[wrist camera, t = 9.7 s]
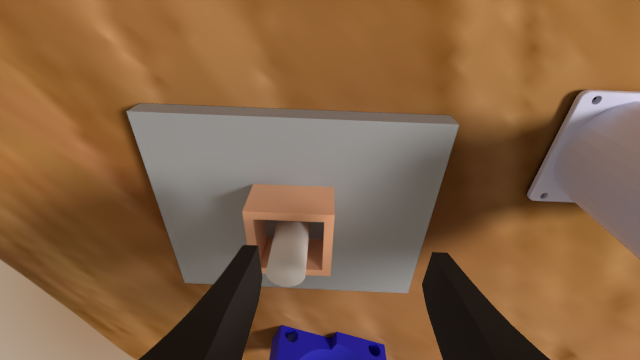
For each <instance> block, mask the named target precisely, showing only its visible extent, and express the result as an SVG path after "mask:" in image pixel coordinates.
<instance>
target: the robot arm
mask: <svg viewBox="0 0 640 360" xmlns="http://www.w3.org/2000/svg"><path fill="white" fill-rule="evenodd" d="M596 96H597V98H596V99H595V101H593V102H592V100H593V99H594V98H595V97H596ZM543 193H544V194H543ZM542 194H543V195H542ZM527 196H528V198H529V199H531V200H533V201H551V202H574V203H576V204H577V205H578V206H579V207H581V208H582V209H583V210H584V211H585V212H586V213H587V214H589V215H590V216H591V217H592V218H593V219H594V220H595V221H597V222H598V223H599V224H600V225H601V226H602V227H603V228H605V229H606V230H607V231H608V232H609V233H610V234H611V235H613V236H614V237H615V238H616V239H617V240H618V241H619V242H620V243H622V244H623V245H624V246H625V247H626V248H627V249H628V250H630V251H631V252H632V253H633V254H634V255H635V256H636V257H638V258H639V259H640V92H634V91H608V90H584V91H582V92H581V93H579V94H578V95H577V97H576V98H575V100H574V102H573V104H572V106H571V108H570V110H569V112H568V114H567V116H566V118H565V120H564V122H563V124H562V126H561V128H560V130H559V132H558V134H557V136H556V138H555V140H554V142H553V143H552V145H551V147H550V149H549V151H548V153H547V155H546V157H545V159H544V161H543V163H542V165H541V167H540V169H539V171H538V173H537V175H536V177H535V179H534V181H533V183H532V185H531V187H530V189H529V191H528V193H527ZM262 278H263V277H262V270H261V263H260V255H259V248H258V245H243V246H242V247H241V248H240V249H239V251H238V252H237V254H236V255H235V257H234V258H233V259H232V261H231V262H230V264H229V265H228V266H227V268H226V269H225V270H224V272H223V273H222V274H221V275H220V277H219V278H218V279H217V281H216V282H215V283H214V284H213V286H212V287H211V288H210V289H209V290H208V292H207V293H206V294H205V295H204V296H203V297H202V298H201V300H200V301H199V302H198V303H197V304H196V305H195V306H194V308H193V309H192V310H191V311H190V312H189V313H188V314H187V315H186V316H185V317H184V318H183V319H182V320H181V321H180V322H179V323H178V324H177V325H176V326H175V327H174V328H173V329H172V330H171V331H170V332H169V333H168V334H167V335H166V336H165V337H164V338H162V339H161V340H160V341H159V342H158V343H157V344H156V345H155V346H154V347H153V348H152V349H150V350H149V351H148V352H147V353H146V354H145V355H143V356H142V357H141V358H140V359H139V360H242V356H243V353H244V349H245V346H246V343H247V339H248V336H249V332H250V329H251V326H252V322H253V319H254V315H255V312H256V308H257V305H258V301H259V296H260V290H261V284H262ZM422 287H423V292H424V298H425V303H426V307H427V311H428V315H429V318H430V321H431V324H432V327H433V330H434V333H435V336H436V340H437V343H438V346H439V349H440V352H441V355H442V358H443V360H550V359H549V358H548V357H546V356H545V355H544V354H543V353H542V352H541V351H539V350H538V349H537V348H536V347H535V346H534V345H533V344H532V343H531V342H530V341H528V340H527V339H526V338H525V337H524V336H523V335H522V334H521V333H520V332H519V331H518V330H517V329H516V328H514V327H513V326H512V325H511V324H510V323H509V322H508V321H507V320H506V319H505V317H504V316H503V315H502V314H501V313H500V312H499V311H498V310H497V309H496V308H495V307H494V306H493V305H492V304H491V303H490V302H489V301H488V299H487V298H486V297H485V296H484V295H483V294H482V293H481V292H480V291H479V289H478V288H477V287H476V286H475V285H474V284H473V283H472V281H471V280H470V279H469V278H468V277H467V276H466V274H465V273H464V272H463V271H462V270H461V268H460V267H459V266H458V265H457V264H456V262H455V261H454V260H453V259H452V258H451V256H450V255H449V254H448V253H437V252H432V255H431V258H430V261H429V265H428V268H427V271H426V274H425V277H424V280H423V283H422Z"/></svg>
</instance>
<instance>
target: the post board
mask: <svg viewBox="0 0 640 360" xmlns="http://www.w3.org/2000/svg"><path fill="white" fill-rule="evenodd" d="M126 112H127V115H128V118H129V121H130V124H131V127H132V130H133V132H134V135H135V138H136V141H137V144H138V147H139V150H140V153H141V156H142V159H143V162H144V165H145V168H146V171H147V174H148V176H149V179H150V182H151V185H152V188H153V191H154V194H155V197H156V200H157V203H158V206H159V209H160V212H161V215H162V218H163V221H164V223H165V226H166V229H167V232H168V235H169V238H170V241H171V244H172V247H173V250H174V253H175V256H176V259H177V262H178V265H179V268H180V270H181V273H182V276H183V279H184V282H185V283H196V284H214V283H215V282H216V281H217V279H218V278H219V277H220V275H221V274H222V273H223V272H224V270H225V269H226V268H227V266H228V265H229V264H230V262H231V261H232V259H233V258H234V257H235V255H236V254H237V252H238V251H239V249H240V248H241V247H242V246H243V245H247V240H246V233H245V226H244V220H243V213H242V211H243V208H244V206H245V203H246V201H247V198H248V196H249V193H250V191H251V188H252V186H253V184H269V185H295V186H320V187H334V206H335V217H334V232H333V247H332V261H331V276H311V275H305V274H306V263H307V252H308V240H309V239H323V233H324V222H306V221H281V220H265V221H266V231H267V237H274V238H273V242H272V247H271V251H270V255H269V260H268V264H267V268H266V274H264V273H262V277H263V278H262V284H261V287H283V288H305V289H327V290H349V291H371V292H392V293H408V291H409V287H410V284H411V281H412V278H413V274H414V271H415V268H416V265H417V261H418V258H419V255H420V252H421V248H422V245H423V242H424V238H425V235H426V232H427V229H428V225H429V222H430V219H431V216H432V212H433V209H434V206H435V202H436V199H437V196H438V193H439V189H440V186H441V183H442V180H443V176H444V173H445V170H446V166H447V163H448V160H449V157H450V153H451V150H452V147H453V144H454V140H455V137H456V134H457V131H458V127H459V124H458V123H457V122H456V121H455V119H454V118H453V117H452V116H451V115H426V114H401V113H375V112H350V111H325V110H300V109H275V108H249V107H224V106H199V105H174V104H149V103H139V104H138V105H136V106H134V107H133V108H131V109H129V110H128V111H126Z"/></svg>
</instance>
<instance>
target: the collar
mask: <svg viewBox="0 0 640 360" xmlns="http://www.w3.org/2000/svg"><path fill="white" fill-rule="evenodd" d="M242 213H243V220H244V226H245V233H246V240H247V245H258V248H259V255H260V263H261V270H262V273H264V274H266V268H267V264H268V260H269V255H270V251H271V247H272V242H273V238H274V237H267V231H266V221H265V220H281V221H306V222H324V233H323V239H309V240H308V252H307V263H306V274H305V275H311V276H331V261H332V247H333V232H334V217H335V206H334V187H320V186H295V185H269V184H253V186H252V188H251V191H250V193H249V196H248V198H247V201H246V203H245V206H244V208H243V211H242Z"/></svg>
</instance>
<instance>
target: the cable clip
mask: <svg viewBox="0 0 640 360" xmlns="http://www.w3.org/2000/svg"><path fill="white" fill-rule="evenodd" d="M269 360H386V354H385V347H384V345H383V344H379V343H376V342H372V341H368V340H365V339H361V338H357V337H354V336H350V335H347V334H343V333H339V332H336V333H335V335H334V336H333V337H332V338H328V337H324V336H320V335H316V334H313V333H309V332H305V331H302V330H298V329H294V328H290V327H287V326H283V325H281V327H280V328H279V330H278V331H277V333H276V334H275V336H274V338H273V341H272V347H271V353H270V359H269Z"/></svg>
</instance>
